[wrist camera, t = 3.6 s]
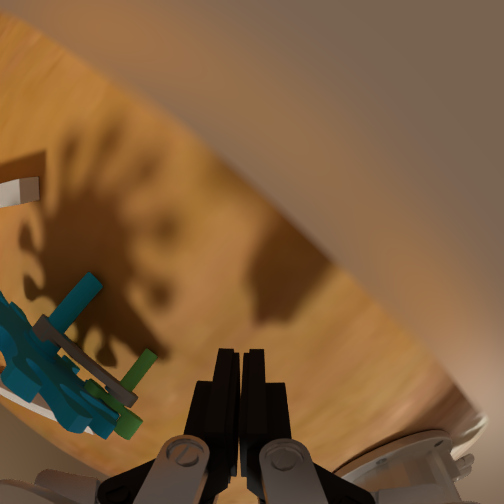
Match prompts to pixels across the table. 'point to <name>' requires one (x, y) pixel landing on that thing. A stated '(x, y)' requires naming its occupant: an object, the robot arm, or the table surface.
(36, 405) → the guide rails
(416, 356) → the table surface
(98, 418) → the gear
